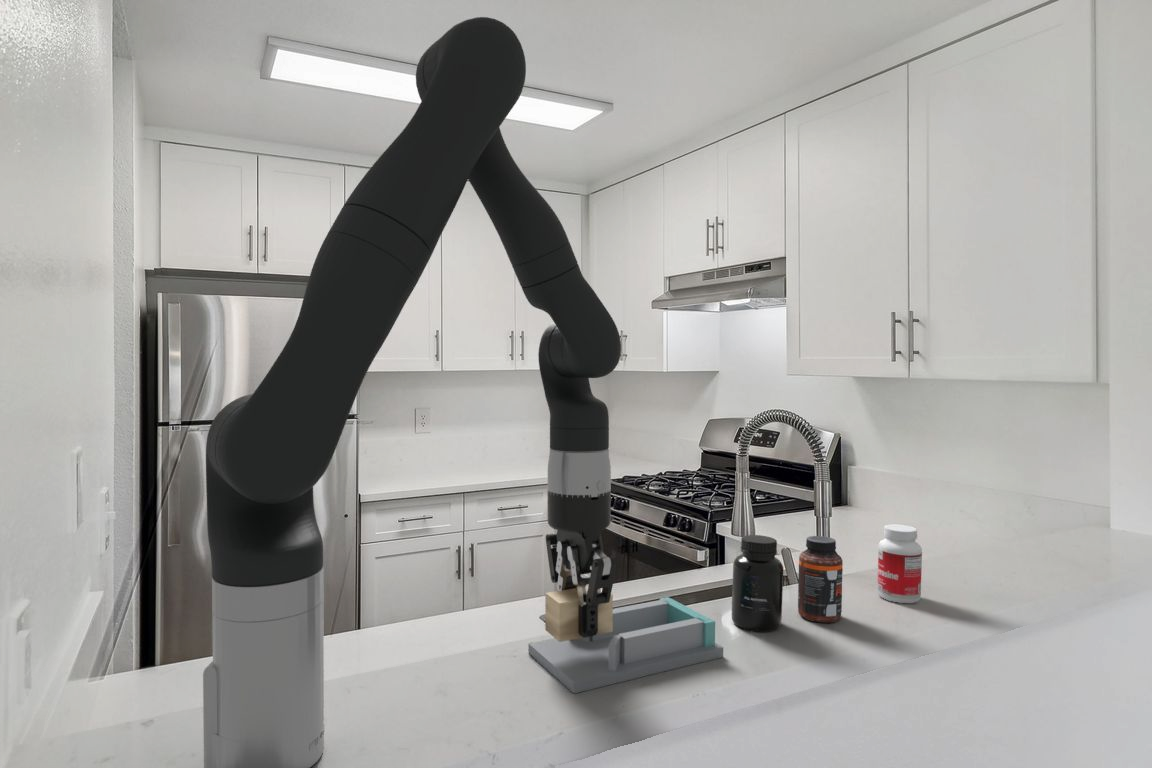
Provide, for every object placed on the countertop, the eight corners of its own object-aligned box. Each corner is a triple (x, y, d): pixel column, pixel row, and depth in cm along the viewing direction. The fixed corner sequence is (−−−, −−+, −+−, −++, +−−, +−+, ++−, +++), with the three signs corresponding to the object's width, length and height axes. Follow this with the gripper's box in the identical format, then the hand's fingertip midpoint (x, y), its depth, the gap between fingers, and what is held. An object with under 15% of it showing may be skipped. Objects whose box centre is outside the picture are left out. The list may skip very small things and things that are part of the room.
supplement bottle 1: (747, 635, 94) (748, 546, 93) (722, 617, 100) (724, 534, 100) (792, 630, 96) (793, 543, 95) (765, 613, 102) (766, 531, 102)
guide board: (573, 693, 77) (573, 655, 77) (528, 652, 87) (528, 619, 87) (723, 656, 87) (723, 623, 87) (666, 624, 97) (666, 594, 97)
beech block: (559, 642, 80) (559, 603, 80) (545, 629, 84) (545, 592, 84) (612, 631, 84) (612, 594, 83) (596, 620, 87) (596, 584, 87)
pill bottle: (869, 592, 112) (870, 523, 111) (903, 590, 113) (905, 522, 112) (893, 605, 106) (895, 533, 105) (929, 603, 107) (931, 531, 106)
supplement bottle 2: (844, 626, 97) (846, 545, 97) (800, 622, 98) (801, 542, 98) (837, 611, 103) (839, 534, 103) (795, 608, 104) (797, 532, 104)
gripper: (525, 479, 88) (525, 614, 88) (579, 500, 75) (579, 657, 76) (578, 475, 91) (578, 605, 92) (638, 493, 79) (637, 644, 79)
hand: (578, 628), depth 84 cm, fingers closed on beech block, 4 cm apart
